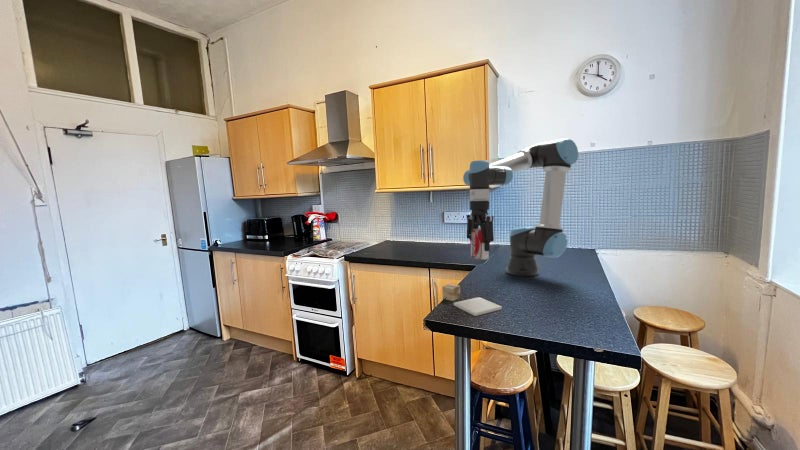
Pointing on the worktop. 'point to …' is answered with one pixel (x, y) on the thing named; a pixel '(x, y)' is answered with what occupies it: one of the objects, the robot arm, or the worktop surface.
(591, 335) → the worktop surface
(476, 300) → the tile
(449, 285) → the oak block
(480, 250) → the beverage can
